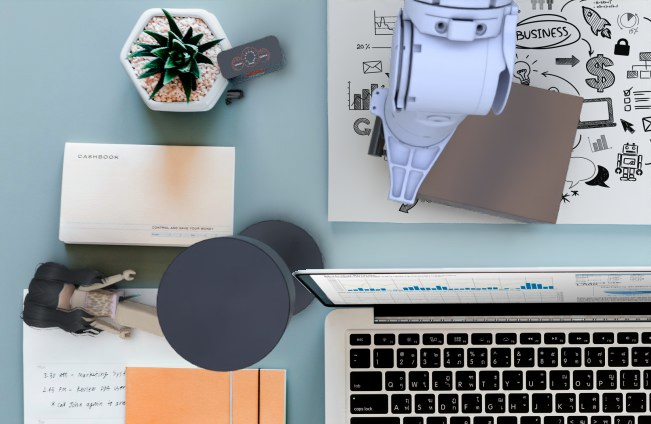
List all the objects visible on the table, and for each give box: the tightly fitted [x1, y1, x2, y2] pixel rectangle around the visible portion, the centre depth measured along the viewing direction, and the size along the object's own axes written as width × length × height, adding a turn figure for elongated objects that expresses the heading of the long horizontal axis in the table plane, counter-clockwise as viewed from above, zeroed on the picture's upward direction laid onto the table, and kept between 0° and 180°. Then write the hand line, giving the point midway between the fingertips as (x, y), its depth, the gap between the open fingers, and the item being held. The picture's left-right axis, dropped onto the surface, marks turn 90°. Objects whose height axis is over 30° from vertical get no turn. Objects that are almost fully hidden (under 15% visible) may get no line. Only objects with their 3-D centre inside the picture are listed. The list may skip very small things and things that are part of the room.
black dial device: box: [216, 34, 286, 106], centre depth 65 cm, size 5×7×3 cm, turn 108°
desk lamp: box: [155, 219, 325, 373], centre depth 52 cm, size 10×10×28 cm
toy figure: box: [19, 261, 165, 340], centre depth 64 cm, size 7×6×15 cm
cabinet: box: [415, 81, 585, 225], centre depth 61 cm, size 13×12×8 cm
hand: (409, 130), depth 59 cm, fingers closed, pressing on drawer
